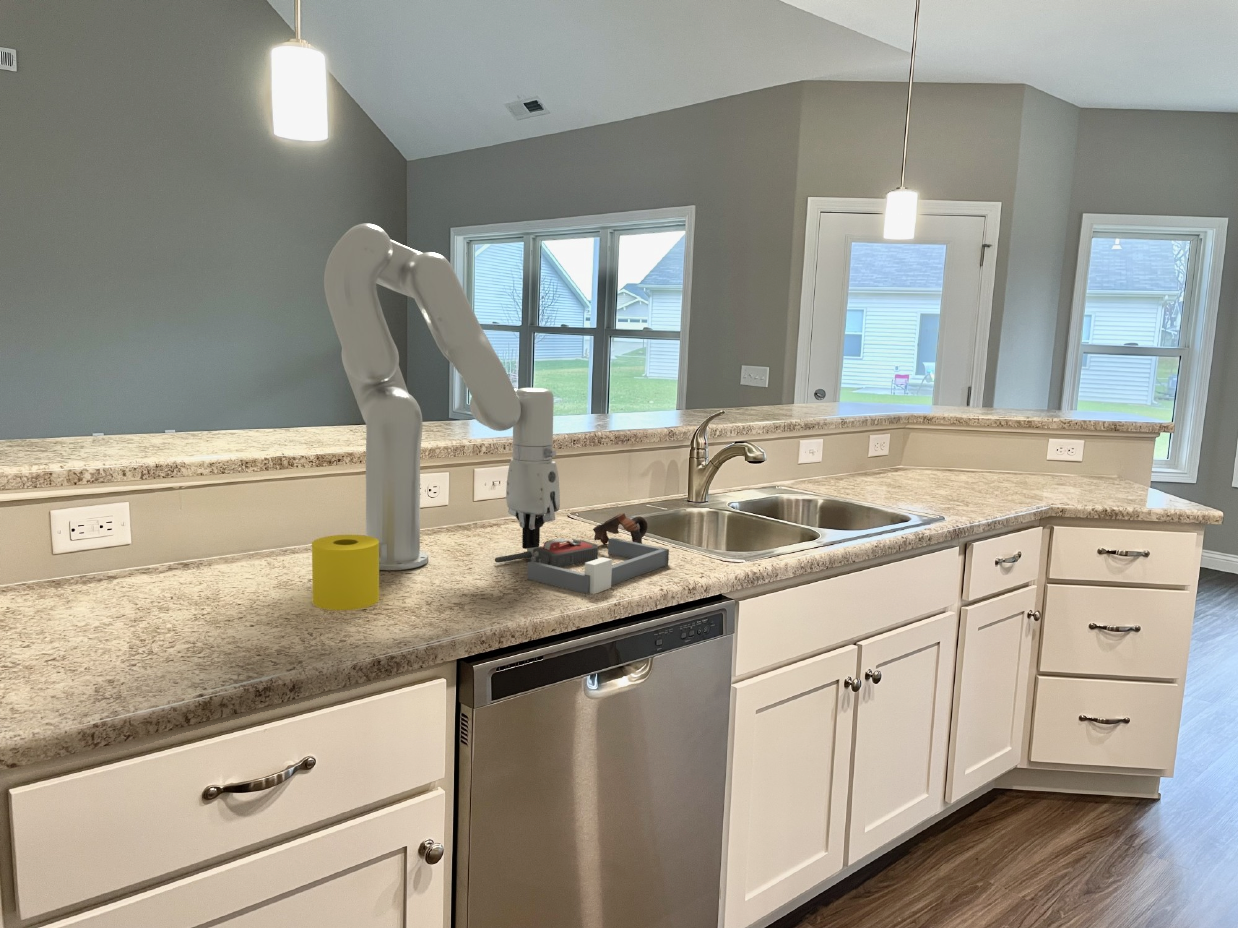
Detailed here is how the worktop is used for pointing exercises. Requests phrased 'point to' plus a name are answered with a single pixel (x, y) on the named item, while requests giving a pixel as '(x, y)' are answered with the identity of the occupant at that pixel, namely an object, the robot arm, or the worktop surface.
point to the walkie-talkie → (558, 553)
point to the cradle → (602, 568)
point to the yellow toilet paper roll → (345, 572)
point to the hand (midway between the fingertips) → (530, 547)
